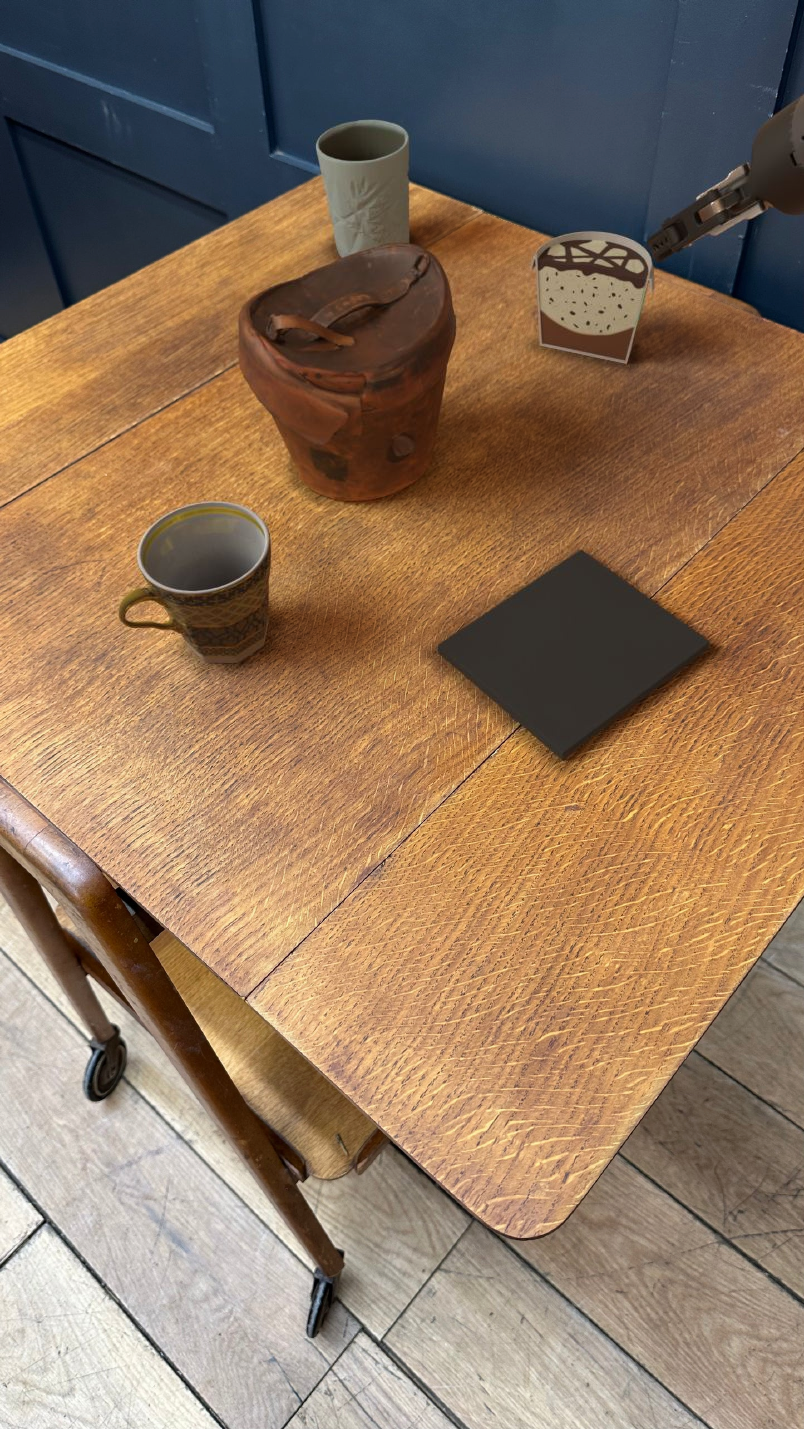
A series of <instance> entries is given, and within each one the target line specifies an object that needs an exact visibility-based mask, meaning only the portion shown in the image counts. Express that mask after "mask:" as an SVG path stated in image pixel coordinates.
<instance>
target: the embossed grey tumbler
mask: <svg viewBox="0 0 804 1429" xmlns="http://www.w3.org/2000/svg"><path fill="white" fill-rule="evenodd" d="M315 149H316V155H317V158H318V163H319V168H320V172H321V176H322V181H323V185H324V191H325V196H326V204H327V206H328V212H329V213H328V214H329V217H330V221H331V224H332V226H333V236H334V241H335V247H336V251H337V253H338V255H339V257H340V258H343V257H345V256H348V255H351V254H354V253H357V252H359V251H364V250H368V249H371V248H375V247H378V246H380V245H384V244H389V243H410V179H409V176H408V174H409V170H410V166H409V165H410V162H409V161H410V136H409V133H408V132H407V130H406V129H405V128H404V127H402V126H400V125H399V124H397V123H395V122H389V121H385V120H380V119H361V120H360V119H359V120H355V121H348V122H344V123H340V124H339V125H338V124H337V125H336V126H333V127H331V128H329V129H327V130H326V131H324V133H322V134H321V135H320V136H319V137H318V139H317V141H316V144H315Z"/></svg>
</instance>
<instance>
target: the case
mask: <svg viewBox="0 0 804 1429" xmlns="http://www.w3.org/2000/svg"><path fill="white" fill-rule="evenodd" d="M451 290H452V289H451V285H450V282H449V279H448V276H447V273H446V271H445V269H444V267H443V265H442V263H441V261H440V260H439V259H438V257H437V256H435V255H434V253H432V252H431V251H430V250H428V249H427V248H425V247H423V246H420V245H418V244H414V243H410V242H409V243H389V244H384V245H380V246H378V247H375V248H371V249H368V250H364V251H359V252H357V253H354V254H351V255H348V256H345V257H343V258H342V257H340V258H338V259H335V260H334V261H332V262H331V263H328V264H326V265H323V266H321V267H317V268H315V269H313V270H310V271H308V272H307V273H305V274H304V275H302V276H300V277H297V278H294V279H291V280H287V281H284V282H280V283H278V284H275V285H273V286H270V287H268V288H266V289H264V290H262V291H260V292H258V293H256V294H254V296H252V297H251V298H249V299H248V300H247V301H246V302H245V303H244V304H243V305H242V307H241V309H240V310H239V314H238V320H237V321H238V323H237V324H238V325H237V326H238V348H237V349H238V350H237V354H238V355H237V358H238V365H239V369H240V371H241V373H242V375H243V378H244V380H245V381H246V382H247V384H248V386H249V388H250V390H251V391H252V393H253V394H254V396H255V397H256V399H257V401H258V402H259V403H260V404H261V405H262V406H263V407H264V408H265V410H266V411H267V412H268V413H269V414H270V415H271V417H272V419H273V422H274V424H275V425H276V426H275V427H276V428H277V430H278V431H279V435H280V436H281V438H282V441H283V442H284V445H285V448H286V449H287V452H288V454H289V456H290V458H291V461H292V462H293V464H294V466H295V468H296V472H297V475H298V477H299V479H300V481H301V482H302V483H303V485H304V486H306V487H307V488H308V489H310V490H311V491H313V492H315V493H318V494H319V495H322V496H324V497H326V498H329V499H333V500H337V501H347V502H353V501H354V502H355V501H356V502H357V501H368V500H375V499H379V498H383V497H386V496H390V495H392V494H396V493H397V492H400V491H401V490H403V489H405V488H407V487H408V486H410V485H412V484H413V483H415V482H416V481H418V479H420V478H421V476H422V475H424V473H425V472H426V471H427V470H428V469H429V467H430V465H431V463H432V460H433V456H434V450H435V444H436V438H437V434H438V428H439V427H438V426H439V421H440V416H441V410H442V404H443V398H444V392H445V385H446V380H447V379H446V378H447V372H448V364H449V361H450V358H451V355H452V351H453V347H454V346H455V345H454V344H455V342H456V337H457V315H456V314H455V309H454V304H453V296H452V291H451Z"/></svg>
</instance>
